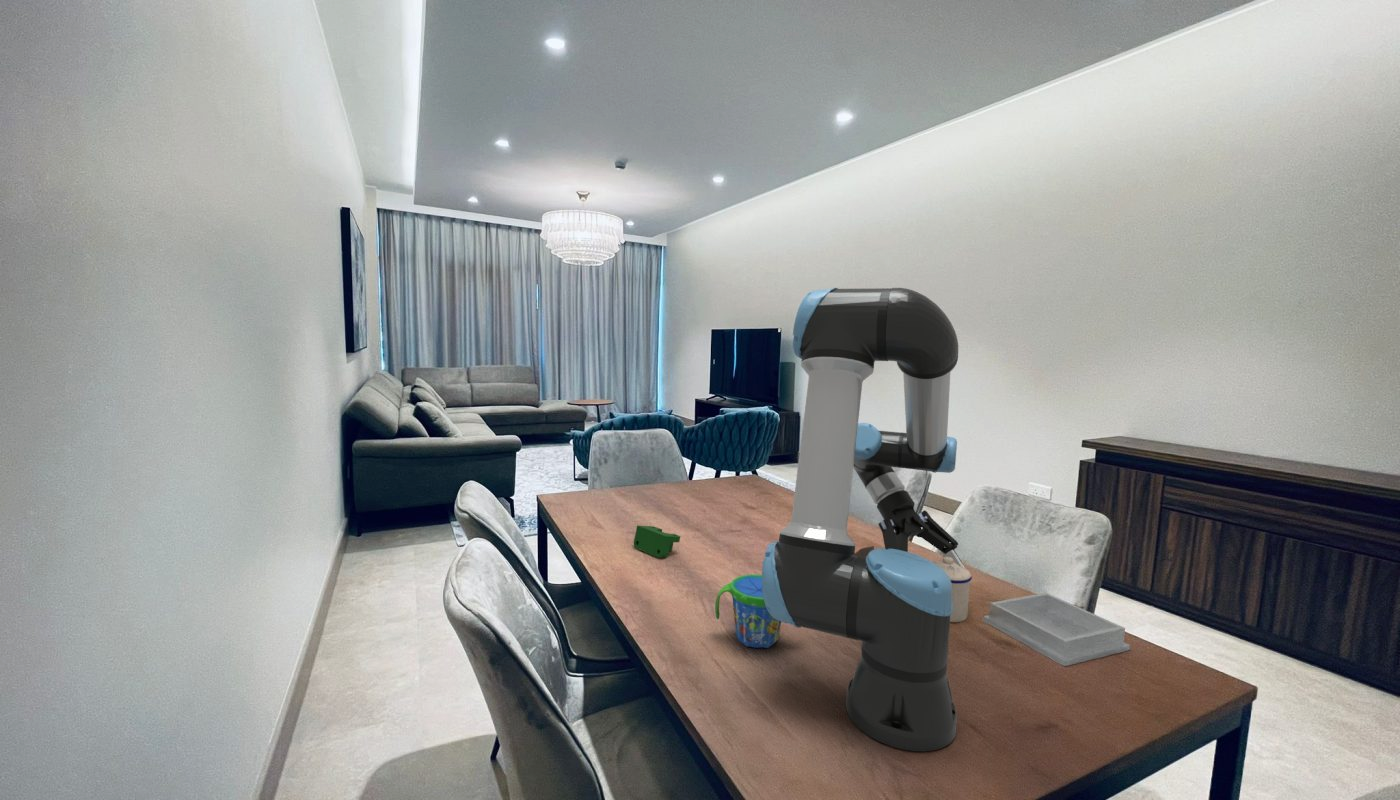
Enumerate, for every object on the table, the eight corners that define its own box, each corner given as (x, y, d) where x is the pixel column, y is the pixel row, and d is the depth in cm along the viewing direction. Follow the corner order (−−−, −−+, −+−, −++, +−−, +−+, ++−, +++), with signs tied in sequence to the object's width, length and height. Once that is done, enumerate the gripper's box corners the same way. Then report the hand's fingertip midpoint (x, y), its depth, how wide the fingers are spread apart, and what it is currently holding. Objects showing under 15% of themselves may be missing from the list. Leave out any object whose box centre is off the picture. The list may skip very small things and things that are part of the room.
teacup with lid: (975, 614, 116) (979, 558, 115) (957, 628, 110) (962, 570, 109) (918, 594, 125) (922, 543, 124) (899, 607, 118) (902, 552, 117)
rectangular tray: (1064, 666, 97) (1066, 644, 97) (982, 620, 113) (984, 601, 113) (1129, 650, 104) (1131, 629, 103) (1043, 609, 119) (1045, 590, 119)
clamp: (670, 570, 145) (686, 541, 143) (653, 570, 141) (669, 540, 139) (646, 540, 153) (661, 512, 151) (629, 540, 149) (644, 511, 147)
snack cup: (801, 631, 107) (804, 579, 106) (798, 661, 96) (801, 603, 96) (720, 620, 110) (722, 569, 109) (708, 647, 100) (710, 592, 99)
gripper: (916, 499, 136) (969, 583, 125) (841, 513, 123) (892, 607, 112) (937, 483, 131) (994, 568, 120) (861, 494, 118) (917, 592, 107)
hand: (945, 587), depth 116 cm, fingers open, 13 cm apart
